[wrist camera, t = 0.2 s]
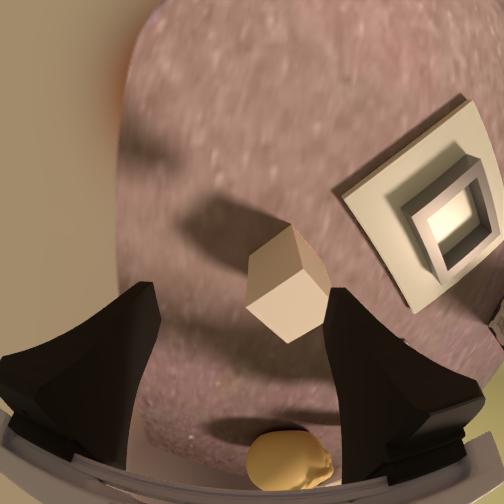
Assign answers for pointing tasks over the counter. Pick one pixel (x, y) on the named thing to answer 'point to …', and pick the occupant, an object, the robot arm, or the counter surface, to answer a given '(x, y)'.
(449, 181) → the charging dock
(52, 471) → the robot arm
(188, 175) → the counter surface
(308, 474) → the sculpture
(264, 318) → the block
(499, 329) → the candy bar box
